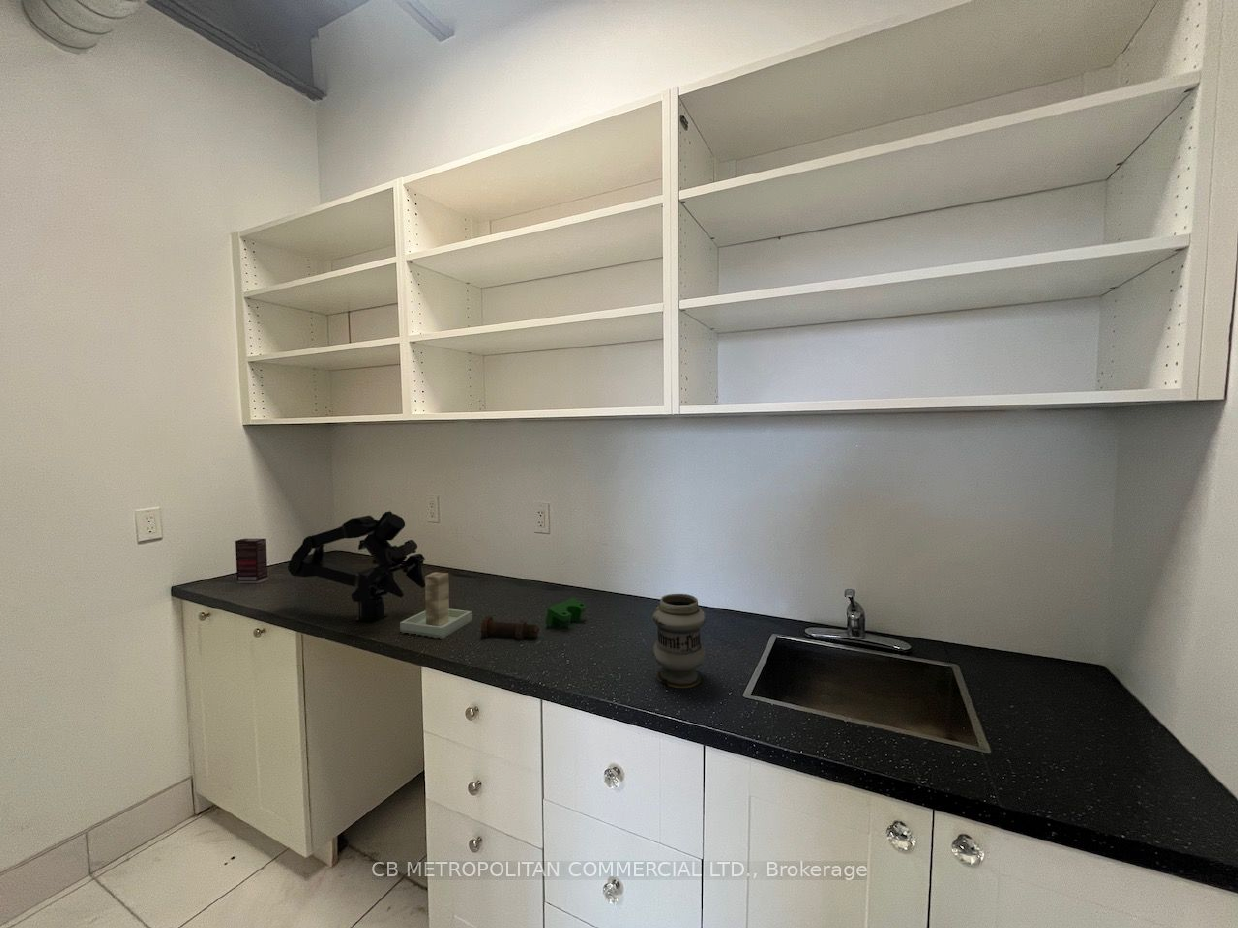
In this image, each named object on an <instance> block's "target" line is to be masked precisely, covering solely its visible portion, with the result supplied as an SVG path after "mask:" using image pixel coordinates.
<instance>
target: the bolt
mask: <svg viewBox="0 0 1238 928" xmlns="http://www.w3.org/2000/svg"><path fill="white" fill-rule="evenodd" d="M539 631H540V628H539V625H538V624H528V623H527V621H526V620H525V619H524V620H522V619H521V620H519V621H518V622H508V621H507V622H506V621H497V620H494V618H493V615H487V616H485V617H484V618H483V620H482V622H481V624H480V635H481V636H482V638H488V637H490V635H493V634H494V635H506V636H514V637H515V638H516V639H517V640H523V639H524V638H528V637H529V638H530V637H531V638H536V637H538V634H539Z"/></svg>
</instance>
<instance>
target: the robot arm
mask: <svg viewBox="0 0 1238 928" xmlns="http://www.w3.org/2000/svg"><path fill="white" fill-rule="evenodd" d="M405 526H406V522H405V520H404V519H403V517H401V516H399V515H398V514H395V513H394V514H393V512H392V511H391V510H389V511H385V512H384V513H383V514H382V516H381V517H380V519H375V518H374V517H373V516H371V515H365V516H364V515H363V516H360V517H354V518H351V519H348V520H347V521H345V522H344V523H343V524H342V525H341V526H340V525H339V527H336V528H333V529H330V530H325V531H322V532H320V533H316V534H312V535H308V536H306V537H305V538H304V539H303V540H302V543H301V545H300V546H299V547H298V548H297V549H296V551H295V552H294V553H293V554H292V557H291V559H290V561H289V564H288V572H289V573H290V576H292V577H295V578H312V577H315V578H316V577H317V578H321V579H324V580H328V581H332V582H336V583H339V584H341V585H342V584H343V585H346V586H350V587H353V588H354V591H353V593H351V598H352V601H353V603H358V605H357V607H358V616H357V617H356V618H354V619H353V621H355V622H356V621H357V622H363V623H369V624H370V623H371V624H372V623H374V621H375V622H376V621H379V620H382V619H383V618H385V617H387V616H388V613H385V602H384V596H386V595H387V594H388V593H389V594H391V595H394V596H396V597H399V598H403V597H404V595H405V594H404V593H403V591H402V589H401V588H400V585H398V583H397V582H396V581H395V579H394V574H395V573H398V572H401V571H402V572H403V573H404V574H406V575H405V576H406V577H407V578H408V579H410V580H411V581H413V583H415V584H416V585H418V587H420V588H422V589H425V578H424V576H423V573H422V565H423V564H424V561H425V560H426V559H425V557H424V556H423V554H421V553H416V550H417V549H418V545H417V543H416V542H415V541H414V540H413V539H409V540H407V541H405V542H404V544H402V545H400V546H397V545H393V546H392V545H391V544H390V542H389V541H393V540H394V539H395V538H396V537H397V536H398V534H400V532H401V531H403V529H404V528H405ZM361 537H365V538H364V539H361V540H359V541H358V545H357V550H358V551H362V550H367V552H368V553H369V555H370V556H371V557H372V558H373V560H372V562H371V563H372V564H374V565H376V564H377V565H378V566H376V567H373V566H372V567H369V568H367V569H364V570H357V569H353V568H349V567H345V566H342V565H338V564H334V563H330V562H327V561H326V559H325V558H324V557H325V549H324V547H325V545H329V544H331V543H334V542H335V543H336V542H338V541H341V540H345V539H347V540H348V539H349V540H350V539H355V538H356V539H357V538H361ZM313 549H314V551H313V552H312V550H313ZM311 552H312V553H311ZM411 554H412V555H411ZM409 555H410V556H409ZM408 556H409V557H408ZM404 561H405V562H404Z"/></svg>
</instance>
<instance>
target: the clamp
mask: <svg viewBox="0 0 1238 928" xmlns="http://www.w3.org/2000/svg"><path fill="white" fill-rule="evenodd" d="M547 609H548V610H547V613H546V617H545V618H546V619H545V625H547V626H549V627H550V628H555V627H557V626H559V625H560V626H562V627H564V628H565V629H570V625H571V621H572V622H576V623H577V624H580V623H581V618H582V614H583V613H585V612H586V610H587V604H586V603H584V602H582V601H580V600H578V599H577V598H574V597H571V598H568V599H566V600H564V601H561V602H559V603H557V604H555V605H552V606H549V607H548V608H547ZM579 622H580V623H579Z"/></svg>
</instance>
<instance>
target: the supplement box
mask: <svg viewBox="0 0 1238 928" xmlns="http://www.w3.org/2000/svg"><path fill="white" fill-rule="evenodd" d="M234 544H235V545H234V546H235V548H234V549H235V551H234V552H235V572H236V583H237V584H239V583H240V584H259V583H262V582H265V581H267V580H268V565H267V563H268V561H267V560H268V559H267V539H266V538H241V539H237V540H234Z"/></svg>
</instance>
